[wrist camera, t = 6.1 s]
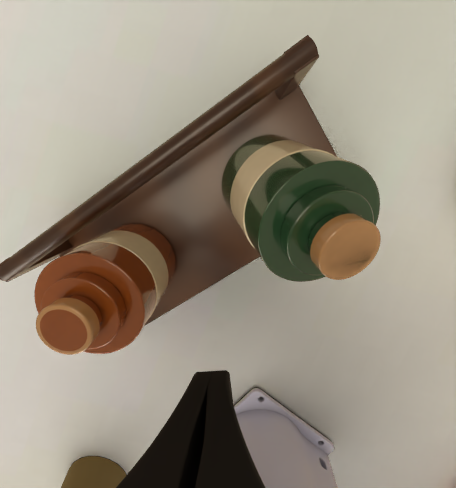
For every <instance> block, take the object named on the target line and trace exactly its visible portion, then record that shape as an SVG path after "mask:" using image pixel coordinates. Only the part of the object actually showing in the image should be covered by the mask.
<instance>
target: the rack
mask: <svg viewBox="0 0 456 488" xmlns="http://www.w3.org/2000/svg"><path fill="white" fill-rule="evenodd" d="M318 58H319V55H318V50H317V47H316V45H315V43H314V41H313V40H312V38H310V37H309V36H308V35H307V36H306V37H304V38H303V39H302V40H300V41H299V42H297V43H296V44H295V45H293V46H292V47H291V48H289V49H288V50H287V51H285V52H284V54H283V55H282V56H280V57H279V58H278V59H276V60H275V61H274V62H272V63H271V64H270V65H268V66H267V67H266V68H264V69H263V70H262V71H260V72H259V73H257V74H256V75H255V76H253V77H252V78H251V79H249V80H248V81H247V82H245V83H244V84H243V85H241V86H240V87H239V88H237V89H236V90H235V91H233V92H232V93H231V94H229V95H228V96H227V97H225V98H224V99H223V100H221V101H220V102H218V103H217V104H216V105H214V106H213V107H212V108H210V109H209V110H208V111H206V112H205V113H204V114H202V115H201V116H200V117H198V118H197V119H196V120H194V121H193V122H192V123H190V124H189V125H188V126H186V127H185V128H183V129H182V130H181V131H179V132H178V133H177V134H175V135H174V136H173V137H171V138H170V139H169V140H167V141H166V142H165V143H163V144H162V145H161V146H159V147H158V148H157V149H155V150H154V151H153V152H151V153H150V154H149V155H147V156H146V157H144V158H143V159H142V160H140V161H139V162H138V163H136V164H135V165H134V166H132V167H131V168H130V169H128V170H127V171H126V172H124V173H123V174H122V175H120V176H119V177H118V178H116V179H115V180H114V181H112V182H111V183H109V184H108V185H107V186H105V187H104V188H103V189H101V190H100V191H99V192H97V193H96V194H95V195H93V196H92V197H91V198H89V199H88V200H87V201H85V202H84V203H83V204H81V205H80V206H79V207H77V208H76V209H75V210H73V211H72V212H70V213H69V214H68V215H66V216H65V217H64V218H62V219H61V220H60V221H58V222H57V223H56V224H54V225H53V226H52V227H50V228H49V229H48V230H46V231H45V232H44V233H42V234H41V235H40V236H38V237H37V238H35V239H34V240H33V241H31V242H30V243H29V244H27V245H26V246H25V247H23V248H22V249H21V250H19V251H18V252H17V253H15V254H14V255H13V256H11V257H9V258H7V259H6V260H5V261H3V262H2V263H1V264H0V280H2V281H6V282H8V281H11V280H12V279H15V278H17V277H19V276H21V275H23V274H25V273H27V272H29V271H31V270H33V269H35V268H37V267H39V266H41V265H43V264H45V263H47V262H49V261H51V260H53V259H55V258H57V257H59V256H62V255H64V254H66V253H68V252H70V251H72V250H73V249H75V248H76V247H78V246H80V245H81V244H83V243H85V242H87V241H89V240H91V239H93V238H95V237H97V236H99V235H101V234H103V233H106V232H108V231H110V230H112V229H114V228H116V227H118V226H121V225H124V224H142V225H146V226H148V227H151V228H153V229H155V230H156V231H158V232H159V233H160V234H162V235H163V236H164V237H165V238H166V240H167V241H168V242H169V244H170V245H171V247H172V249H173V252H174V254H175V259H176V270H175V274H174V277H173V279H172V281H171V283H170V284H169V286H168V287H167V289H166V292H165V294H164V295H163V297H162V299H161V300H160V302H159V304H158V305H157V307H156V309H155V310H154V312H153V314H152V315H151V317H150V318H149V319H148V320H147V322H146V323H145V325H146V324H148V323H150V322H151V321H153V320H155V319H156V318H158V317H160V316H161V315H163V314H165V313H166V312H168V311H170V310H171V309H173V308H175V307H176V306H178V305H180V304H181V303H183V302H185V301H186V300H188V299H190V298H191V297H193V296H195V295H196V294H198V293H200V292H201V291H203V290H205V289H206V288H208V287H210V286H211V285H213V284H215V283H216V282H218V281H220V280H221V279H223V278H225V277H226V276H228V275H230V274H231V273H233V272H235V271H236V270H238V269H240V268H241V267H243V266H245V265H246V264H248V263H250V262H251V261H253V260H255V259H256V258H258V257H260V255H259V254H258V252H257V251H256V250H255V249H254V247H253V246H252V245H251V244H250V242H249V241H248V239H247V238H246V236H245V235H244V233H243V232H242V230H241V229H240V227H239V225H238V224H237V222H236V221H235V219H234V216H233V215H232V213H231V212H230V210H229V209H228V207H227V206H226V204H225V201H224V198H223V195H222V176H223V172H224V169H225V167H226V164H227V163H228V161H229V159H230V157H231V156H232V155H233V153H234V152H235V151H236V150H237V149H238V148H239V147H240V146H241V145H243V144H244V143H245V142H247V141H249V140H251V139H253V138H255V137H258V136H262V135H271V134H272V135H279V136H283V137H286V138H288V139H291V140H294V141H298V142H302V143H305V144H308V145H310V146H313V147H316V148H318V149H321V150H324V151H326V152H329V153H331V154H333V155H334V156H336V157H337V155H336V154H335V152H334V150H333V148H332V146H331V144H330V142H329V141H328V139H327V137H326V135H325V133H324V131H323V129H322V128H321V126H320V124H319V122H318V120H317V118H316V116H315V115H314V113H313V111H312V109H311V107H310V105H309V103H308V102H307V100H306V98H305V96H304V94H303V92H302V90H301V89H300V87H299V84H300V83H301V81H302V80H303V78H304V77H305V76H306V74H307V73H308V71H309V70H310V69H311V67H312V66H313V65H314V63H315V62H316V60H317V59H318ZM145 325H144V326H145Z"/></svg>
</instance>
